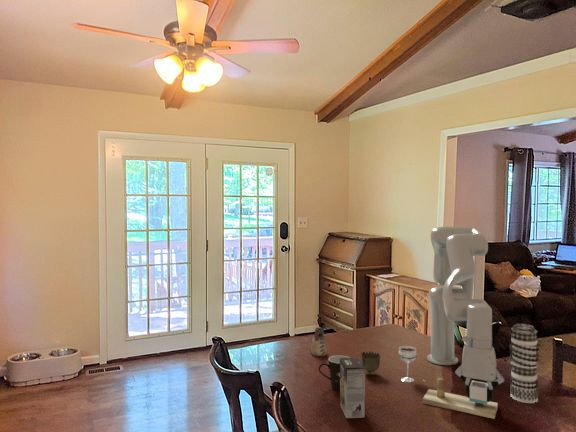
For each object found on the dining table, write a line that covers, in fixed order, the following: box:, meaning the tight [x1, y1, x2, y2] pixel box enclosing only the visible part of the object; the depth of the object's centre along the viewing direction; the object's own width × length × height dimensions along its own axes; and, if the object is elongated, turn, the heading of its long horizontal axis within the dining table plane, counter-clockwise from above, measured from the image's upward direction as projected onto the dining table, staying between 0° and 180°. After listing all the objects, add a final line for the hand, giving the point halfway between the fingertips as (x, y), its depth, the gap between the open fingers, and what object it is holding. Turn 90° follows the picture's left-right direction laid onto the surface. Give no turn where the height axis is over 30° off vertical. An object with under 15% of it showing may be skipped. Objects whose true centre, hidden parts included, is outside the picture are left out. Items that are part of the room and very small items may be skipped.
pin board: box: [422, 377, 499, 420], centre depth 146 cm, size 9×22×8 cm, turn 59°
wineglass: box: [398, 345, 418, 383], centre depth 168 cm, size 7×7×12 cm
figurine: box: [310, 326, 328, 357], centre depth 198 cm, size 7×7×12 cm
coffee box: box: [339, 357, 366, 419], centre depth 142 cm, size 9×6×16 cm
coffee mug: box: [318, 355, 351, 391], centre depth 162 cm, size 12×9×10 cm
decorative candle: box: [508, 323, 541, 404], centre depth 151 cm, size 9×9×25 cm
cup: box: [360, 351, 381, 377], centre depth 173 cm, size 8×7×8 cm
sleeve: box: [469, 380, 488, 405], centre depth 142 cm, size 5×5×5 cm
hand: (479, 397), depth 142 cm, fingers closed on sleeve, 5 cm apart
